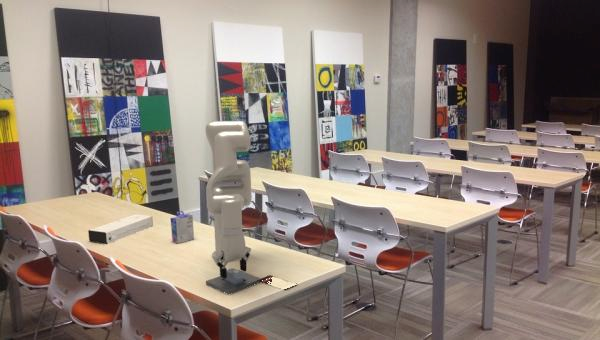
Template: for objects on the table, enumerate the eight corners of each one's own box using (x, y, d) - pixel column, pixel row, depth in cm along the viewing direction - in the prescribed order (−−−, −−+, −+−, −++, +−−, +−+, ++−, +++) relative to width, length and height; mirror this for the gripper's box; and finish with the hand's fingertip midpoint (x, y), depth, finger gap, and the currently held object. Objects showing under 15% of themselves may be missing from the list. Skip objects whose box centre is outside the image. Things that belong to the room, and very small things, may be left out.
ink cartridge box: (188, 237, 260) (186, 209, 257) (194, 239, 256) (193, 210, 253) (171, 241, 252) (169, 212, 250) (177, 243, 249) (176, 214, 246)
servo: (230, 279, 203) (230, 265, 202) (245, 285, 197) (245, 271, 196) (222, 282, 200) (222, 268, 199) (237, 288, 194) (236, 274, 193)
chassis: (238, 273, 209) (238, 269, 209) (261, 282, 200) (261, 278, 199) (205, 284, 198) (205, 281, 197) (229, 294, 188) (228, 290, 188)
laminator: (136, 224, 285) (135, 213, 284) (154, 227, 280) (153, 216, 279) (89, 242, 254) (88, 230, 253) (108, 245, 249) (107, 232, 248)
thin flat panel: (269, 275, 206) (298, 284, 197) (269, 276, 206) (298, 285, 197) (256, 280, 201) (285, 290, 191) (256, 282, 201) (285, 291, 191)
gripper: (243, 224, 204) (244, 265, 207) (207, 233, 192) (209, 277, 194) (256, 227, 199) (257, 270, 202) (219, 237, 186) (221, 283, 189)
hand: (233, 274), depth 198 cm, fingers open, 9 cm apart
